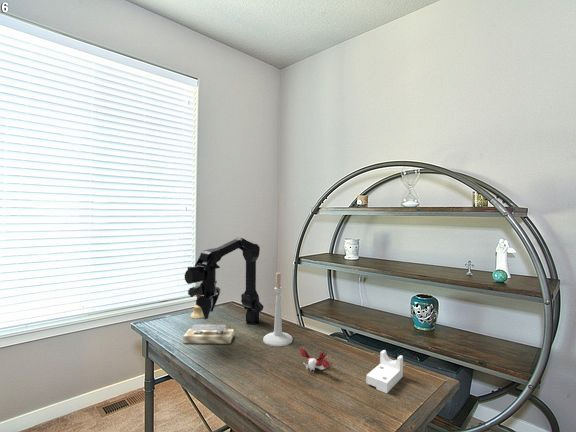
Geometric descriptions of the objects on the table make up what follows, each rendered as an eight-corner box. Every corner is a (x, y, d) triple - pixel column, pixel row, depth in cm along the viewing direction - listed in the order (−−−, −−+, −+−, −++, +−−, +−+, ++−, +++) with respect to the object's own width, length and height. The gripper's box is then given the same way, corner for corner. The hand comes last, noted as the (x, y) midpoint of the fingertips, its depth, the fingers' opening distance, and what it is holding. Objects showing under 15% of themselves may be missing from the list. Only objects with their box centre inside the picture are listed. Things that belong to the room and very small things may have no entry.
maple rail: (233, 335, 144) (233, 329, 144) (230, 343, 136) (230, 336, 136) (189, 335, 144) (189, 328, 144) (183, 343, 136) (183, 336, 136)
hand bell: (209, 315, 171) (209, 285, 170) (197, 319, 164) (197, 288, 163) (198, 312, 175) (198, 283, 174) (186, 316, 168) (186, 286, 167)
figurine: (343, 371, 115) (343, 352, 114) (321, 383, 107) (322, 363, 106) (312, 356, 126) (313, 339, 125) (291, 366, 118) (291, 348, 117)
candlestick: (259, 344, 135) (259, 274, 134) (268, 332, 148) (268, 268, 147) (288, 348, 132) (289, 275, 131) (295, 335, 145) (295, 269, 144)
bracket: (383, 370, 116) (383, 349, 115) (402, 377, 111) (403, 356, 111) (366, 385, 106) (366, 363, 106) (386, 394, 101) (387, 370, 101)
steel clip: (225, 338, 141) (225, 324, 141) (224, 340, 139) (224, 326, 139) (193, 338, 141) (193, 324, 141) (192, 340, 139) (192, 326, 139)
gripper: (196, 274, 148) (196, 308, 149) (183, 284, 130) (183, 322, 130) (220, 274, 148) (220, 308, 149) (210, 285, 130) (210, 323, 130)
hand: (208, 315), depth 140 cm, fingers open, 9 cm apart
